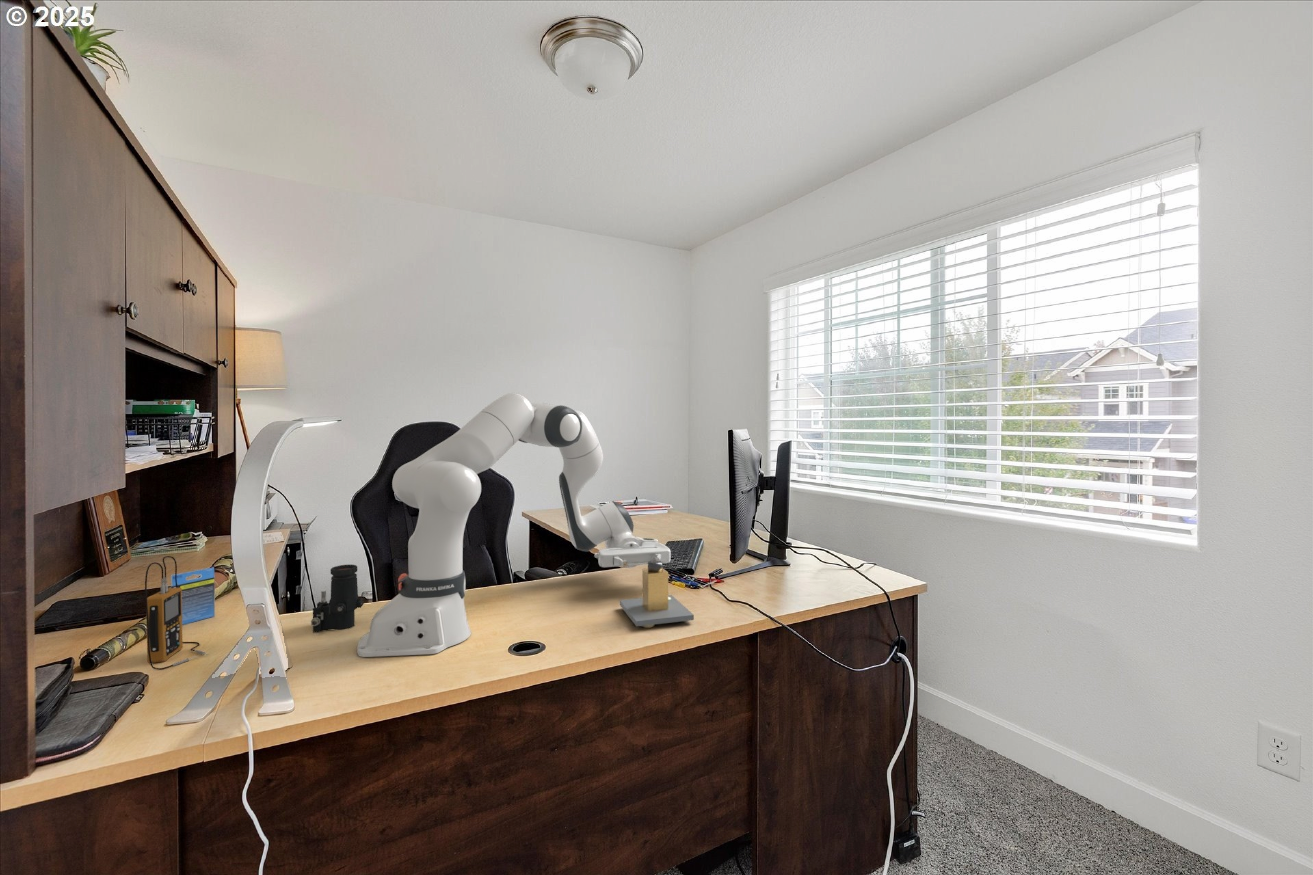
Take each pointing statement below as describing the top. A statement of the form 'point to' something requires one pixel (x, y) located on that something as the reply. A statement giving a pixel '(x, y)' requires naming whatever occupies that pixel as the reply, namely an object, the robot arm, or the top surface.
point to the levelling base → (655, 612)
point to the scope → (338, 601)
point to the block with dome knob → (655, 586)
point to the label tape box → (196, 594)
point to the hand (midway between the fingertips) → (641, 563)
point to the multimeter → (164, 622)
